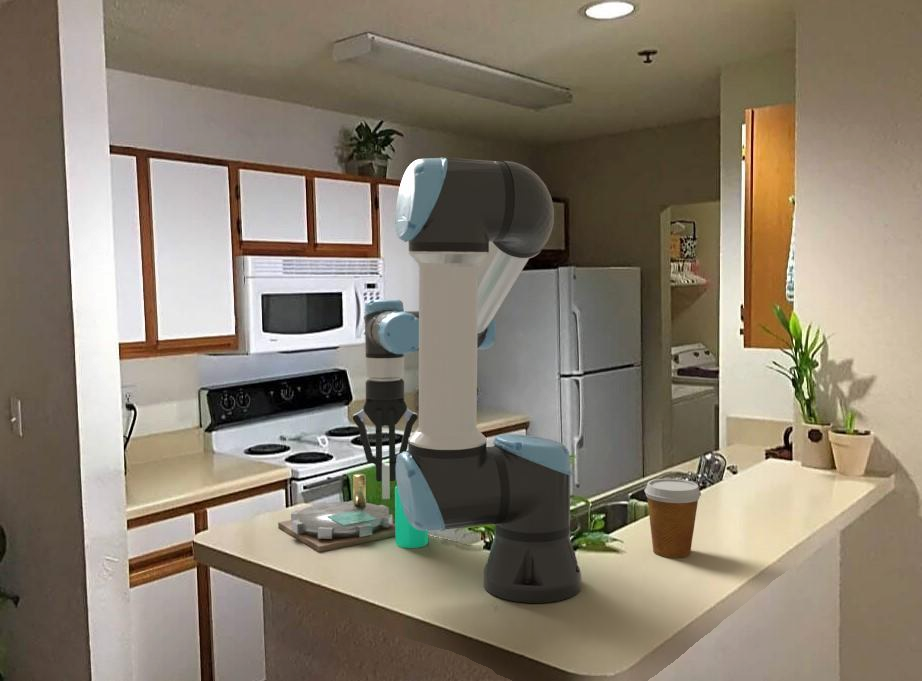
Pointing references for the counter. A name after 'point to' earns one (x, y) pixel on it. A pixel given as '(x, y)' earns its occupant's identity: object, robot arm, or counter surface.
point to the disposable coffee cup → (672, 515)
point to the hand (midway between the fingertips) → (386, 497)
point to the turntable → (343, 516)
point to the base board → (336, 542)
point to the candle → (407, 528)
